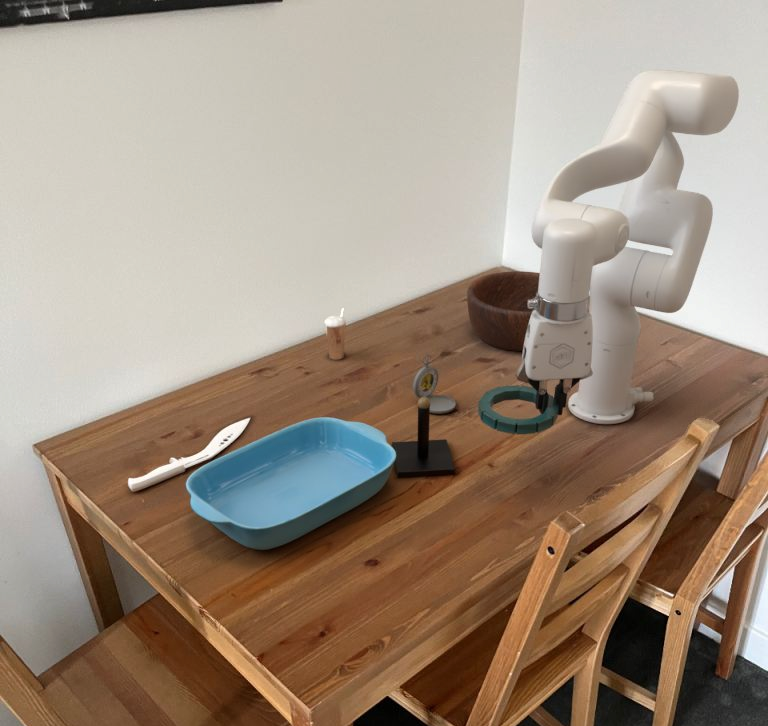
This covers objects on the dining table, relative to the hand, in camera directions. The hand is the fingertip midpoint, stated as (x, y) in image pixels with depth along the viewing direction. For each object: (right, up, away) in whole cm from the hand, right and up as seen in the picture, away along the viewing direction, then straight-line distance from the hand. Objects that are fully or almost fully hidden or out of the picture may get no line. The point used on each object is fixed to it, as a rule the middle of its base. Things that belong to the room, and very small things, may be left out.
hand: (549, 410), depth 139 cm
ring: (-5, -1, 0) cm, 5 cm away
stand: (-20, -7, +13) cm, 25 cm away
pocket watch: (-17, +4, +29) cm, 34 cm away
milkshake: (-37, +17, +47) cm, 63 cm away
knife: (-61, -6, +15) cm, 63 cm away
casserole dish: (-42, -15, +3) cm, 44 cm away
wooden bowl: (+4, +24, +56) cm, 61 cm away
